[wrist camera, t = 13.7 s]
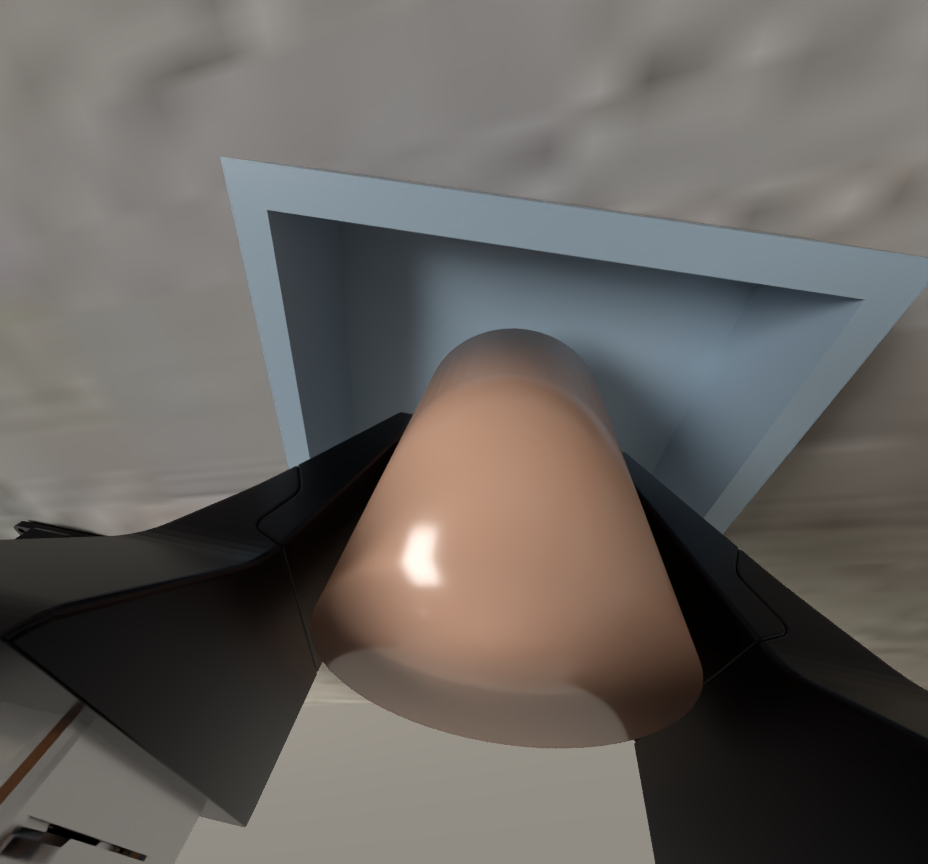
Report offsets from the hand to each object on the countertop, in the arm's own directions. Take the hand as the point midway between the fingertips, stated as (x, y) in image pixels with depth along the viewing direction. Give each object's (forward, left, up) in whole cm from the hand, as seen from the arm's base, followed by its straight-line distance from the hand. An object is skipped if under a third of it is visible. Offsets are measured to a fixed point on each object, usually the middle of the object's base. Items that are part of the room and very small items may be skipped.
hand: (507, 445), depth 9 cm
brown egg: (0, 0, -2) cm, 2 cm away
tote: (-5, 0, -4) cm, 7 cm away
